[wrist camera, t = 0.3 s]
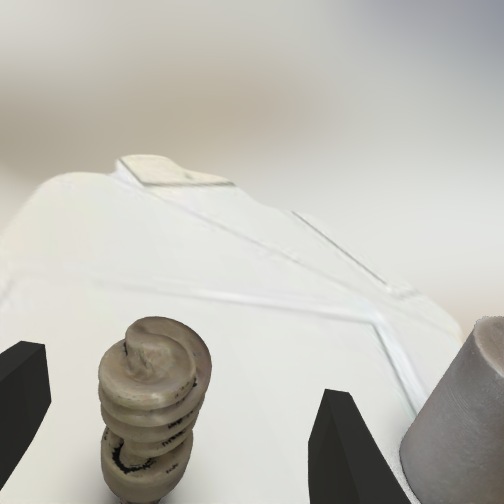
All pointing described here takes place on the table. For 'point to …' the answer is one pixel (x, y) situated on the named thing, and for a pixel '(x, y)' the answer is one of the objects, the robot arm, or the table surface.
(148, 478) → the light bulb
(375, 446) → the robot arm
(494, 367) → the pillar candle
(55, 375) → the table surface
